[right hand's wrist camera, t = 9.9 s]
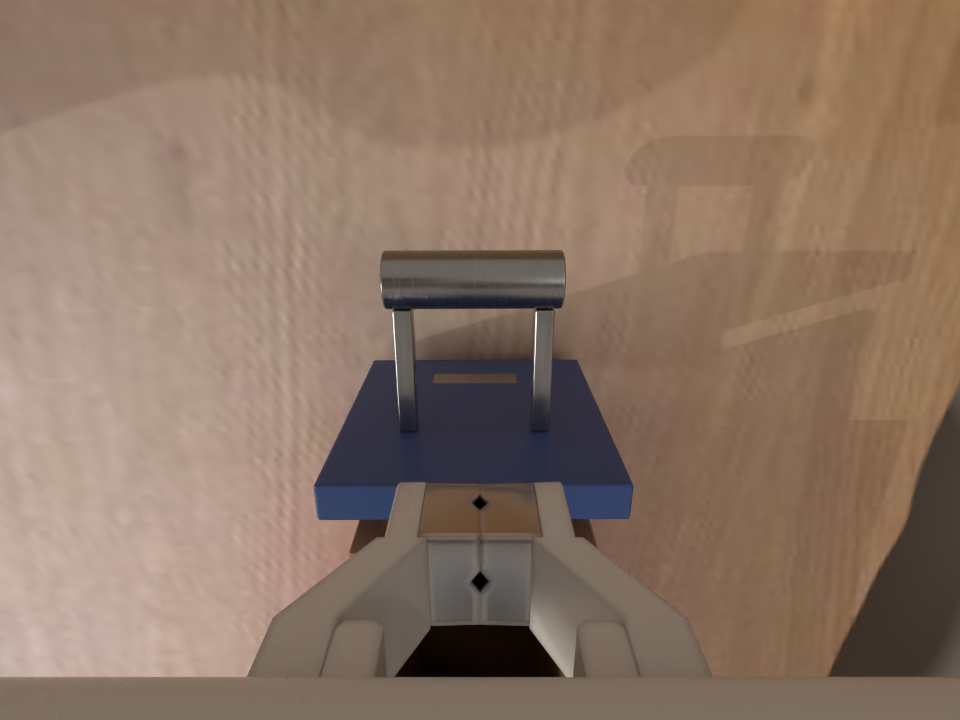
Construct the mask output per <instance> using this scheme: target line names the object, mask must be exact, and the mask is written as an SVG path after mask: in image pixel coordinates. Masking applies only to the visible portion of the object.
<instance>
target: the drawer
mask: <svg viewBox="0 0 960 720" xmlns="http://www.w3.org/2000/svg"><path fill="white" fill-rule="evenodd" d="M565 287H566V266H565V257H564V253H563V251H562V250H461V251H384V252H383V254H382V257H381V264H380V288H381V297H382V302H383V305H384V307H385V308H386V309H393V311H392V318H393V334H394V350H395V360H385V361H374V362H373V364H372V366H371V368H370V370H369V372H368V375H367V377H366V379H365V381H364V383H363V385H362V387H361V389H360V391H359V393H358V395H357V397H356V399H355V402H354V404H353V406H352V408H351V410H350V412H349V414H348V416H347V418H346V420H345V422H344V424H343V426H342V429H341V431H340V433H339V435H338V437H337V439H336V441H335V443H334V445H333V447H332V449H331V451H330V453H329V455H328V458H327V460H326V462H325V464H324V466H323V468H322V470H321V472H320V474H319V476H318V478H317V480H316V482H315V485H314V494H315V502H316V509H317V517H318V519H319V520H359V523H358V526H357V529H356V532H355V535H354V539H353V542H352V545H351V548H350V551H349V558H351V557H352V556H353V555H355V554H356V553H357V552H359V551H360V550H361V549H362V548H364V547H365V546H366V545H368V544H369V543H370V542H371V541H373V540H374V539H375V538H377V537H385V534H386V530H387V526H388V522H389V517H390V513H391V509H392V505H393V501H394V497H395V493H396V489H397V485H398V484H399V483H400V482H426V483H427V482H449V483H480V484H501V483H533V482H560V483H562V485H563V489H564V493H565V498H566V502H567V506H568V510H569V514H570V518H571V522H572V526H573V530H574V534H575V537H583V538H585V539H586V540H587V541H589V542H590V543H591V544H592V545H594V546H595V547H596V548H598V547H597V544H596V540H595V537H594V533H593V530H592V527H591V523H590V520H589V519H628V518H629V517H630V511H631V502H632V493H633V484H632V481H631V479H630V477H629V475H628V473H627V470H626V468H625V466H624V464H623V461H622V459H621V457H620V455H619V453H618V450H617V448H616V446H615V444H614V441H613V439H612V437H611V435H610V433H609V430H608V428H607V426H606V424H605V421H604V419H603V417H602V415H601V413H600V410H599V408H598V406H597V404H596V401H595V399H594V397H593V395H592V393H591V390H590V388H589V386H588V384H587V381H586V379H585V377H584V375H583V373H582V370H581V368H580V366H579V364H578V361H577V360H552V357H553V336H554V314H555V311H554V309H553V308H562V306H563V303H564V297H565ZM413 309H534V317H533V347H532V360H416V353H415V332H414V311H413ZM394 677H566V676H565V675H564V673H563V672H562V671H561V669H560V668H559V667H558V665H557V664H556V663H555V661H554V660H553V659H552V657H551V656H550V655H549V653H548V652H547V651H546V649H545V648H544V647H543V645H542V644H541V643H540V641H539V640H538V639H537V637H536V636H535V635H534V633H533V632H532V631H531V629H530V626H514V625H445V626H430V630H429V631H428V633H427V634H426V635H425V637H424V638H423V639H422V641H421V642H420V643H419V645H418V646H417V647H416V649H415V650H414V651H413V653H412V654H411V655H410V657H409V658H408V659H407V661H406V662H405V663H404V665H403V666H402V667H401V669H400V670H399V671H398V672H397V674H396V675H395V676H394Z"/></svg>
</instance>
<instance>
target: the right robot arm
mask: <svg viewBox="0 0 960 720" xmlns="http://www.w3.org/2000/svg"><path fill="white" fill-rule="evenodd" d="M445 625H514V626H530V629H531V631H532V632H533V633H534V635H535V636H536V637H537V639H538V640H539V641H540V643H541V644H542V645H543V647H544V648H545V649H546V651H547V652H548V653H549V655H550V656H551V657H552V659H553V660H554V661H555V663H556V664H557V665H558V667H559V668H560V669H561V671H562V672H563V673H564V675H565V676H566V677H394V676H395V675H396V674H397V672H398V671H399V670H400V669H401V667H402V666H403V665H404V663H405V662H406V661H407V659H408V658H409V657H410V655H411V654H412V653H413V651H414V650H415V649H416V647H417V646H418V645H419V643H420V642H421V641H422V639H423V638H424V637H425V635H426V634H427V633H428V631H429V630H430V626H445ZM0 720H960V677H713V676H712V673H711V671H710V669H709V667H708V664H707V662H706V660H705V657H704V655H703V653H702V651H701V648H700V646H699V644H698V641H697V639H696V637H695V634H694V632H693V630H692V628H691V625H690V623H689V621H688V618H686V617H685V616H684V615H682V614H681V613H680V612H679V611H677V610H676V609H675V608H673V607H672V606H671V605H670V604H668V603H667V602H666V601H664V600H663V599H662V598H661V597H659V596H658V595H657V594H655V593H654V592H653V591H652V590H650V589H649V588H648V587H646V586H645V585H644V584H643V583H641V582H640V581H639V580H637V579H636V578H635V577H634V576H632V575H631V574H630V573H628V572H627V571H626V570H625V569H623V568H622V567H621V566H619V565H618V564H617V563H616V562H614V561H613V560H612V559H610V558H609V557H608V556H607V555H605V554H604V553H603V552H601V551H600V550H599V549H598V548H596V547H595V546H594V545H592V544H591V543H590V542H589V541H587V540H586V539H585V538H583V537H575V534H574V530H573V526H572V522H571V518H570V514H569V510H568V506H567V502H566V498H565V493H564V489H563V485H562V483H560V482H533V483H501V484H480V483H449V482H427V483H426V482H400V483H399V484H398V485H397V489H396V493H395V497H394V501H393V505H392V509H391V513H390V517H389V522H388V526H387V530H386V534H385V537H377V538H375V539H374V540H373V541H371V542H370V543H369V544H368V545H366V546H365V547H364V548H362V549H361V550H360V551H359V552H357V553H356V554H355V555H353V556H352V557H351V558H349V559H348V560H347V561H346V562H344V563H343V564H342V565H340V566H339V567H338V568H337V569H335V570H334V571H333V572H331V573H330V574H329V575H328V576H326V577H325V578H324V579H322V580H321V581H320V582H318V583H317V584H316V585H315V586H313V587H312V588H311V589H309V590H308V591H307V592H306V593H304V594H303V595H302V596H300V597H299V598H298V599H297V600H295V601H294V602H293V603H291V604H290V605H289V606H287V607H286V608H285V609H284V610H282V611H281V612H280V613H278V614H277V615H276V616H275V617H273V619H272V621H271V624H270V626H269V628H268V630H267V633H266V635H265V637H264V639H263V642H262V644H261V646H260V649H259V651H258V653H257V655H256V658H255V660H254V662H253V664H252V667H251V669H250V671H249V673H248V676H247V677H0Z"/></svg>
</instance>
